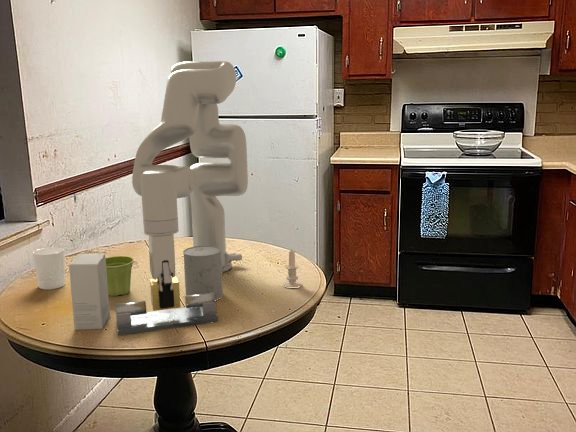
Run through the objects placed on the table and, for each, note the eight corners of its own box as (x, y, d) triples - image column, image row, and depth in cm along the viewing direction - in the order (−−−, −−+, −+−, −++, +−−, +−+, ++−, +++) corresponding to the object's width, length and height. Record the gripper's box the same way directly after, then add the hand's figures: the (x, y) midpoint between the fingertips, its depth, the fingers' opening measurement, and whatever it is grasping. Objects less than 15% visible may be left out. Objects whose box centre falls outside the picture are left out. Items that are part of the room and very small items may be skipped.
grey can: (229, 292, 148) (227, 247, 146) (212, 305, 140) (210, 257, 137) (196, 288, 152) (194, 244, 149) (178, 301, 143) (175, 254, 140)
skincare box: (83, 316, 134) (77, 253, 130) (112, 315, 134) (106, 252, 131) (73, 331, 125) (66, 263, 122) (103, 329, 126) (98, 262, 123)
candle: (282, 289, 151) (281, 251, 148) (283, 282, 156) (282, 246, 153) (301, 289, 150) (301, 251, 148) (302, 282, 155) (301, 246, 153)
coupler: (153, 310, 126) (151, 281, 125) (151, 303, 130) (149, 275, 129) (180, 307, 128) (178, 278, 127) (177, 300, 132) (176, 272, 131)
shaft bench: (210, 308, 138) (209, 286, 137) (217, 321, 129) (217, 299, 128) (116, 320, 131) (114, 297, 130) (118, 335, 123) (116, 311, 121)
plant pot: (123, 300, 144) (121, 267, 142) (91, 296, 146) (88, 264, 145) (143, 288, 152) (140, 257, 151) (112, 285, 155) (110, 254, 153)
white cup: (56, 291, 151) (52, 255, 149) (30, 289, 152) (26, 254, 150) (73, 281, 158) (69, 247, 156) (48, 280, 160) (44, 246, 158)
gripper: (140, 219, 132) (145, 293, 136) (146, 235, 116) (152, 319, 120) (173, 216, 134) (177, 289, 138) (183, 232, 119) (187, 314, 122)
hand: (165, 302), depth 129 cm, fingers closed on coupler, 4 cm apart
